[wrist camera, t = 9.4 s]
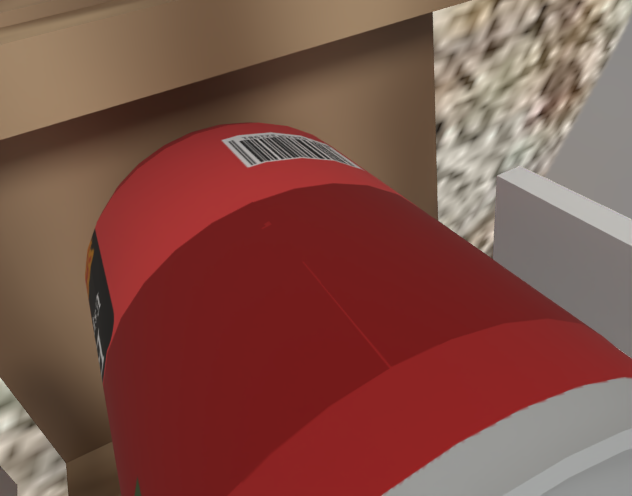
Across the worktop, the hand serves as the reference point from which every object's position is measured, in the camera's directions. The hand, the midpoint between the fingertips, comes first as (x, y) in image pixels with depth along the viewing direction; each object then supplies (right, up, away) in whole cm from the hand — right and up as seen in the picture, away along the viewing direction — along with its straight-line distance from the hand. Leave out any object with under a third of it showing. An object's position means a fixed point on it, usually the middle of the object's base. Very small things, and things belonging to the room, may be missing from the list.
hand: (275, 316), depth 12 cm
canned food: (-2, +2, +3) cm, 4 cm away
